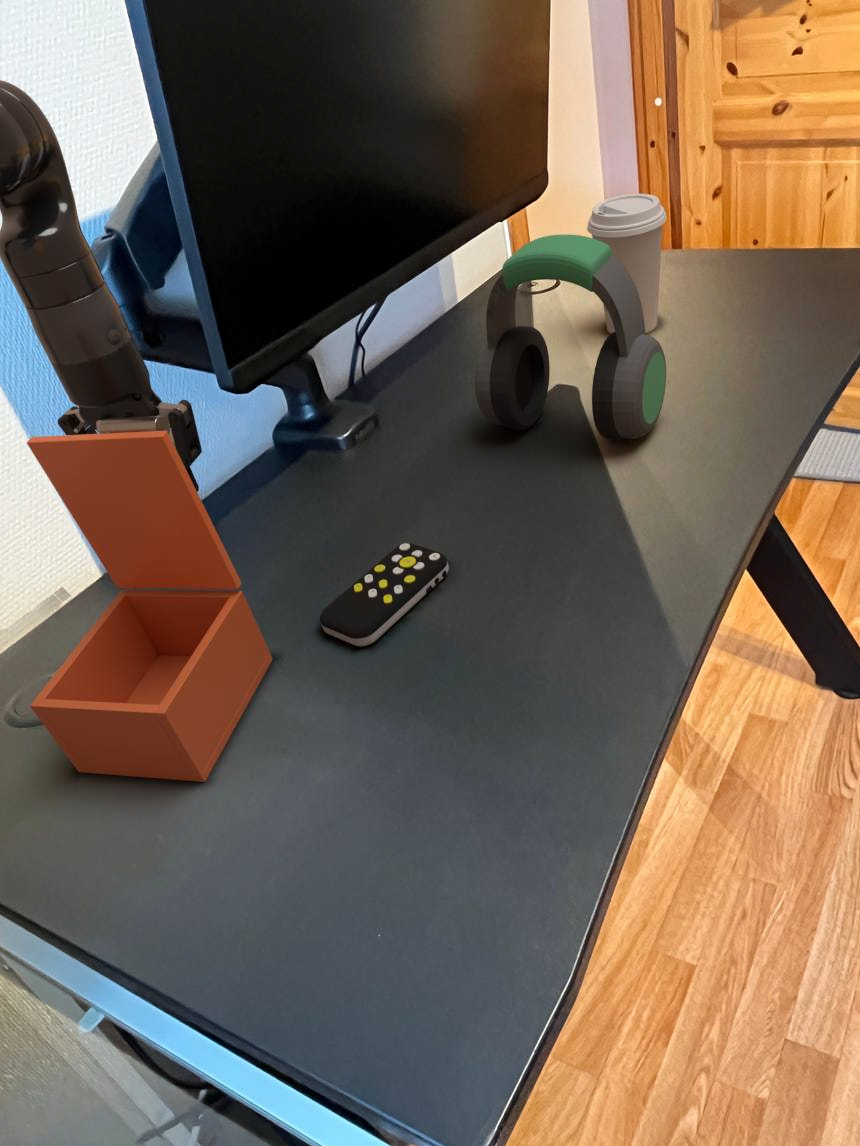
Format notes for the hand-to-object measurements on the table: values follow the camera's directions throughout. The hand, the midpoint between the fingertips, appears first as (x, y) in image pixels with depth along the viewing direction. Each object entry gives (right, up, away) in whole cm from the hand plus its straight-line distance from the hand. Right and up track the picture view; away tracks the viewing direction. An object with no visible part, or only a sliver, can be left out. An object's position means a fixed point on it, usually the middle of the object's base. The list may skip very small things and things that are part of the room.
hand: (164, 499), depth 90 cm
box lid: (+6, -5, -22) cm, 24 cm away
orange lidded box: (+7, -21, -16) cm, 27 cm away
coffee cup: (+52, +27, +25) cm, 64 cm away
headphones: (+43, +9, +8) cm, 45 cm away
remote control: (+24, -11, -10) cm, 28 cm away
